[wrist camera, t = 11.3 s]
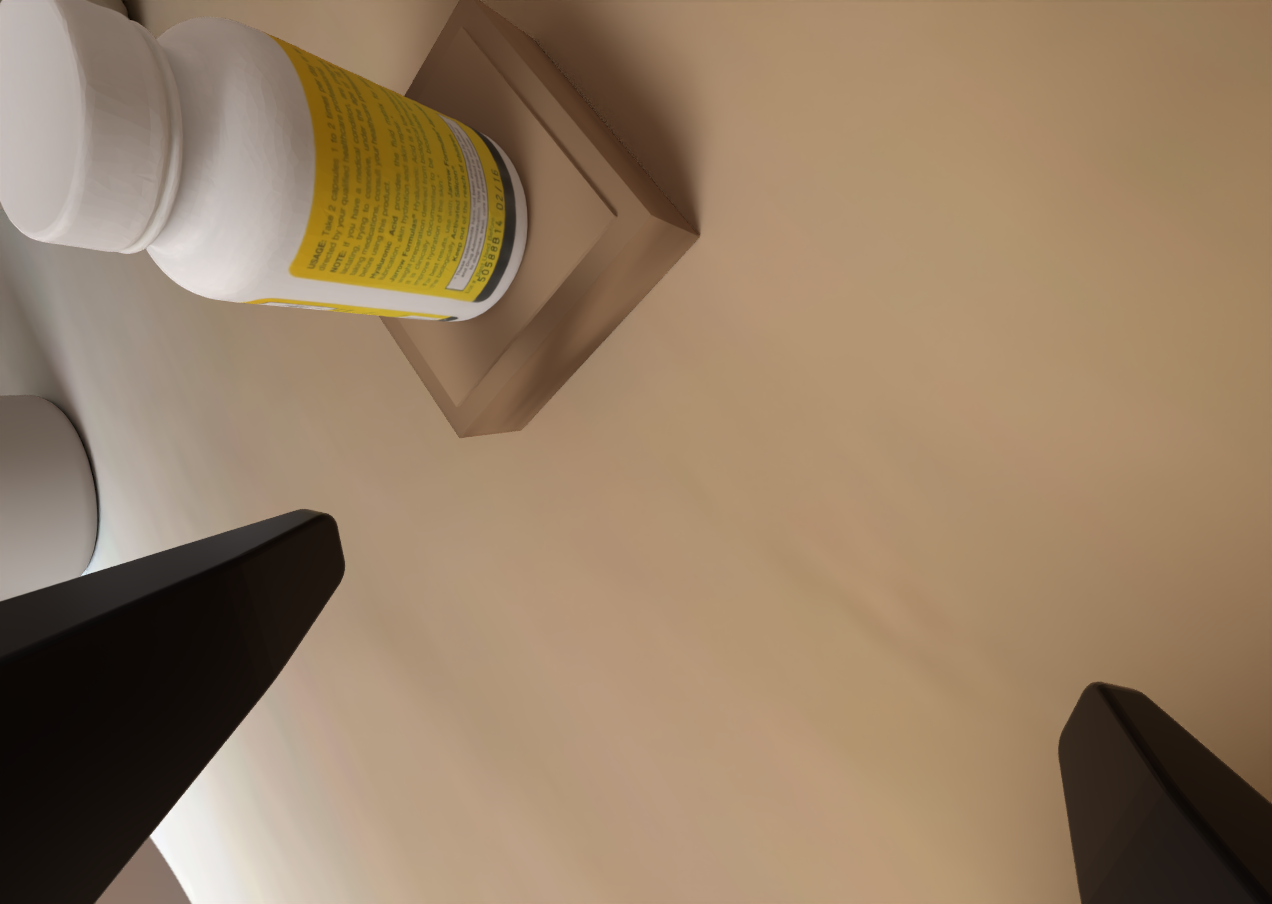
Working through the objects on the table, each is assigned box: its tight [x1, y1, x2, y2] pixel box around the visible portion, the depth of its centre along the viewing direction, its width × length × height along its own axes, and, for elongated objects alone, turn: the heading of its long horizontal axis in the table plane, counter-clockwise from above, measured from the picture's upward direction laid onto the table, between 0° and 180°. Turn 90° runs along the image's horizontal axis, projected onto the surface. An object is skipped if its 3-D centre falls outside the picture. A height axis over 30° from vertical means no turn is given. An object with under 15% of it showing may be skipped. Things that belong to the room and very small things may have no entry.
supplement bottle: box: [0, 0, 527, 322], centre depth 15 cm, size 5×5×10 cm
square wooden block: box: [379, 0, 699, 438], centre depth 20 cm, size 9×9×3 cm
